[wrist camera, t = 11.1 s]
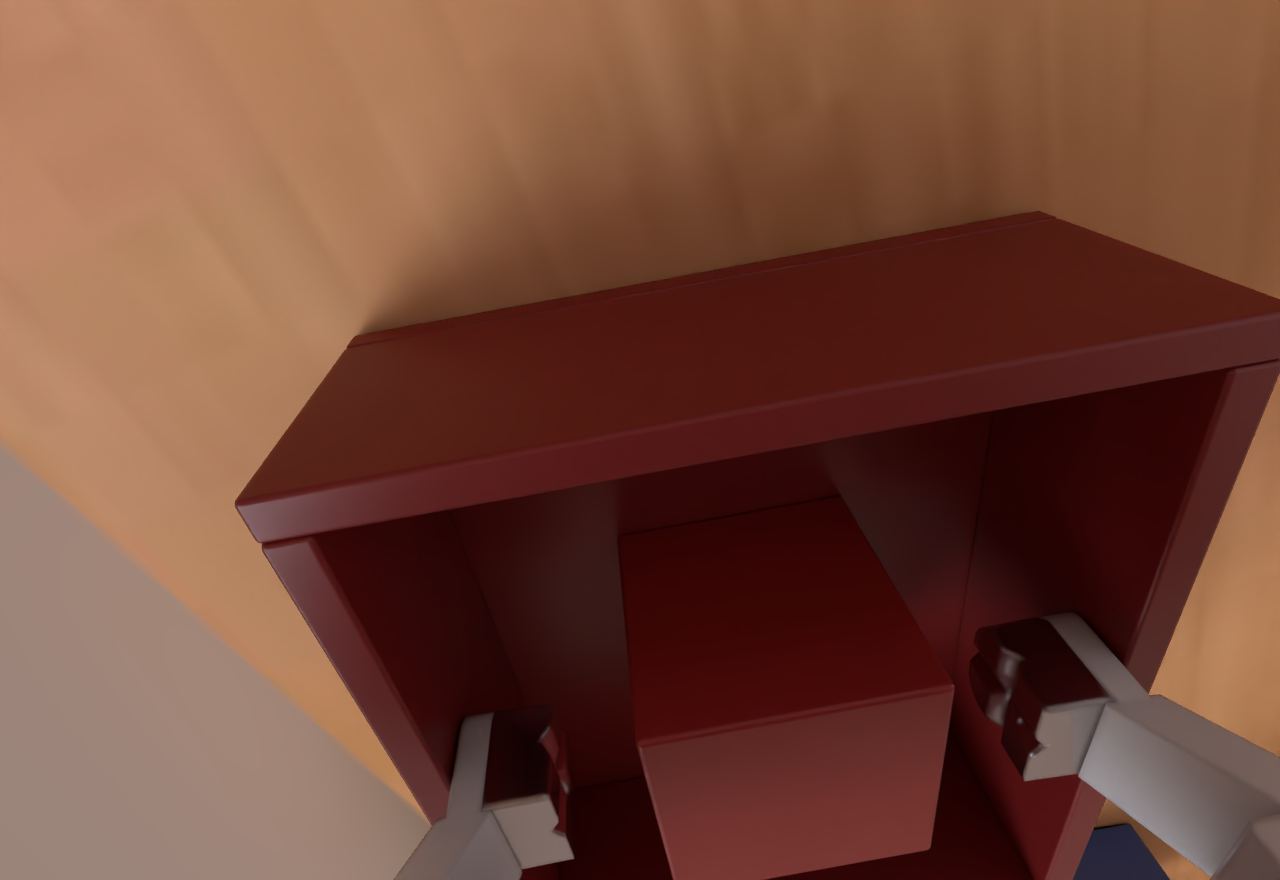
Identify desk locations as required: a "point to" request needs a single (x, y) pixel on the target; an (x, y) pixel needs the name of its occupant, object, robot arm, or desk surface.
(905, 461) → the red bin
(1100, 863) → the blue block
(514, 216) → the desk surface
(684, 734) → the red block
